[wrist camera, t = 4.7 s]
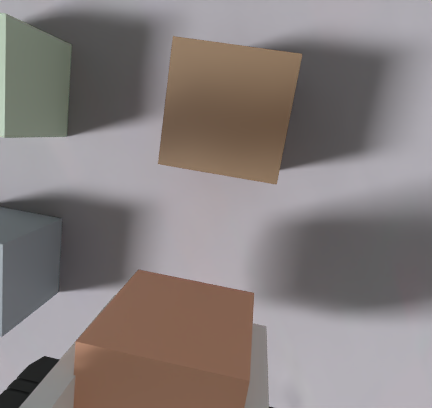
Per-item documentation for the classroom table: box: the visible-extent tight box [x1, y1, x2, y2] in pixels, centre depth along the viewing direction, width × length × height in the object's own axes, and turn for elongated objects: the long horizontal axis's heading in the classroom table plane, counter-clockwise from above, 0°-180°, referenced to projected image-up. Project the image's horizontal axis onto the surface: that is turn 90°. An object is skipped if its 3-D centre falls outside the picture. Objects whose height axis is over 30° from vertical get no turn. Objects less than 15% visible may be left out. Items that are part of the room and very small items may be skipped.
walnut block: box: [158, 36, 302, 184], centre depth 16 cm, size 5×5×5 cm
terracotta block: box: [73, 270, 254, 408], centre depth 12 cm, size 5×5×5 cm
